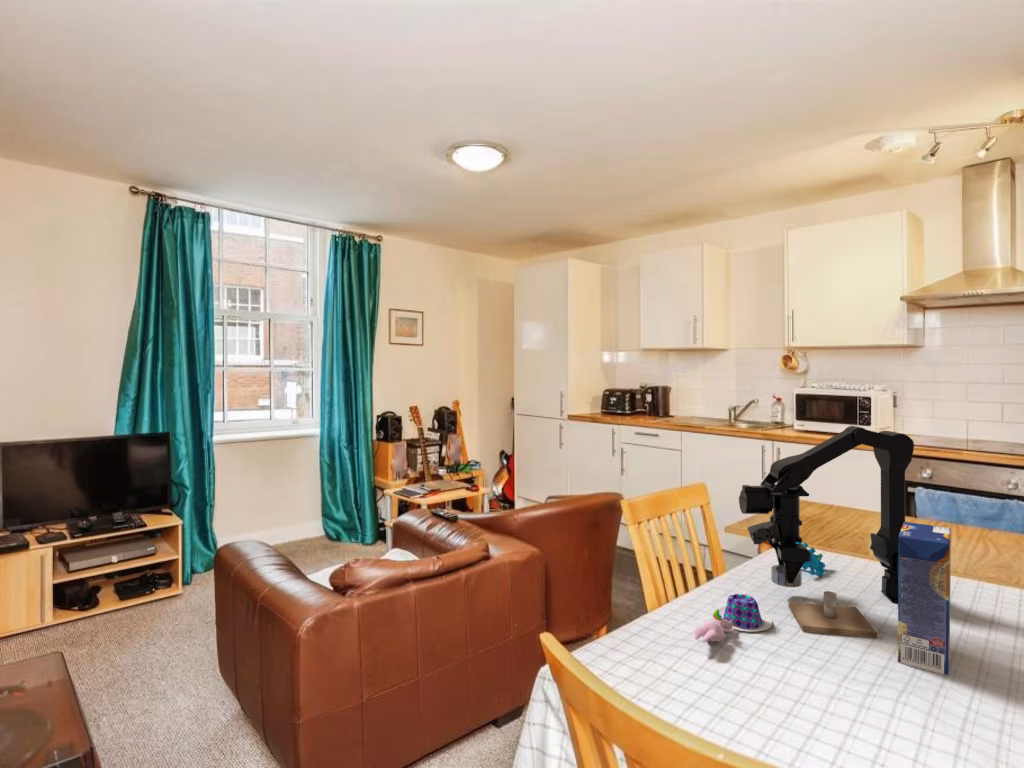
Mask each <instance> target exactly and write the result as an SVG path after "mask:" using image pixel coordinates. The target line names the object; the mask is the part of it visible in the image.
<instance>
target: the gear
mask: <svg viewBox="0 0 1024 768" xmlns="http://www.w3.org/2000/svg"><path fill="white" fill-rule="evenodd" d="M796 544H803V545H804V546H805V547H806V548H808V547H809V544H808V543H807V542H806V541H805V542H802V543H800V542H796ZM808 550H809V552H810V553H811V561H810V562H805V563H804V565H803V566H802V568H801V569H803V570H805V571H806V570H807V569H808V568H809V569H810V570H809V571H808V573H809V575H811V576H815V575H816V576H817V577H822V576H823V575H824V574H825V573H826V572H827V570H826V569H824V568H826V563H825V562H823V561H822V559H823V557H824V555H823V554H822V553H818V554H815V552H816V549H815V548H814V547H810V548H809V549H808Z"/></svg>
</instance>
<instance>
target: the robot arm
mask: <svg viewBox="0 0 1024 768" xmlns="http://www.w3.org/2000/svg"><path fill="white" fill-rule="evenodd" d="M861 445H863V446H868V447H871V448H872V449H873V455H874V457H875V460H876V462H877V464H878V467H879V468H880V469H879V470H880V528H879V529H878V530H877V532H876V533H875V532H874V533H873V532H871V533H870V535H869V537H870V542H871V543H870V547H869V549H870V550H872V554H873V556H874V557H875V559H876V560H878V561H879V563H880V566H881V567H883V568H884V571H883V574H884V575H882V576H881V590H880V592H881V593H882V594H883V595H884V596H885V597H886V598H887V599H888V600H889V601H890V602H891V603H896V604H898V563H899V534H900V531H901V529H902V526H903V523H904V522H906V471H907V469H908V467H909V465H910V463H911V462H912V460H913V456H914V455H913V454H914V451H915V450H914V449H915V443H914V440H913V439H912V438H911V437H910V436H909V435H907V434H904V433H900V432H896V431H891V430H881V431H879V432H877V431H874V430H869V429H866V428H864V427H861V426H855V425H850V426H848V427H846V428H845V429H844V430H842V431H840V432H838V433H837V434H835V435H833V436H832V437H830V438H828V439H826V440H824V441H822V442H821V443H819V444H817V445H814V447H812V448H810V449H808V450H806V451H804V452H803V453H799V454H795V455H791V456H787V457H784V458H781V459H778V460H775V461H774V462H773V463H772V464H771V465H770V469H769V472H768V474H767V475H766V476H765V477H764V479H763V480H762V481H761V483H760V485H750V484H743V485H741V487H742V488H741V491H740V492H739V496H738V504H739V508H740V512H741V513H742V514H743V515H763V514H764V515H769V513H771V512H772V514H771V515H770V517H769V520H768V521H764V522H759V523H757V524H753V525H751V526H748V527H747V528H746V529H747V531H748V534H749V536H750V539H751V541H752V543H753V544H754V545H760V544H762V543H764V542H768V544H769V545H770V546H771V547H772V548H773V549H774V551H775V555H776V558H777V562H778V565H784V567H785V573H786V578H787V582H788V583H793V582H794V580H795V578H796V576H797V575H798V573H799V571H800V570H802V569H803V568H802V566H803V565H804V563H805V562H810V561H811V553H810V552H809V549H808V547H805V546H804V545H803V538H802V536H800V535H801V534H800V529H801V528H800V526H803V521H802V520H801V519H800V518H801V515H800V509H801V508H800V504H801V502H800V497H810V493H809V492H807V491H806V490H805V489H804V487H803V486H802V484H803V483H804V482H806V481H807V480H809V478H810V477H811V475H812V474H813V473H814V472H815V471H816V470H817V469H819V468H820V467H822V466H824V465H826V464H828V463H830V462H832V461H833V460H835V459H836V458H838V457H840V456H842V455H843V454H845V453H848V452H849V451H851V450H853V449H854V448H857V447H858V446H861ZM796 542H800V543H802V544H796Z"/></svg>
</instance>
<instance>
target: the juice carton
mask: <svg viewBox="0 0 1024 768" xmlns="http://www.w3.org/2000/svg"><path fill="white" fill-rule="evenodd" d="M951 543H952V527H946V526H939V525H931V524H924V523H916V522H909V521H905V522H904V523H903V526H902V529H901V531H900V534H899V563H898V603H897V606H898V607H897V611H898V612H897V613H898V614H897V662H898V663H899V664H904V665H908V666H911V667H914V668H918V669H923V670H926V671H930V672H933V673H937V674H940V675H943V676H949V668H950V654H951V653H950V652H951V651H950V650H951V577H952V576H951V572H952V571H951V570H952V569H951V566H952V565H951V558H952V555H951V554H952V551H951V550H952V549H951V548H952V544H951Z"/></svg>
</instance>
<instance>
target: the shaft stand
mask: <svg viewBox="0 0 1024 768" xmlns="http://www.w3.org/2000/svg"><path fill="white" fill-rule="evenodd" d="M837 596H838V595H837V593H836V592H833V591H832V590H831V591H830V590H827V591H826V590H825V591H823V603H822V604H821V603H811V602H808V603H807V602H798V601H796V602H795V601H788V605H787V607H788V608H789V610H790V612H791V614H792V615H793V618H794V619H795V621H796V622H797V624H798V626H799V627H800V629H801V632H805V633H806V632H807V633H815V634H817V633H818V634H827V635H839V636H840V635H841V636H853V637H863V638H874V639H878V631H877V630H876V628H874V626H873V625H872V624H871V623H870V622H869V620H868V619H867V618H866V617H865V616H864V615H863V613H862V612H861V611H860V610H859V609H858V607H856V606H851V605H850V606H848V605H839V604H838V605H837V603H838V602H837V599H838V597H837Z"/></svg>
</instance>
